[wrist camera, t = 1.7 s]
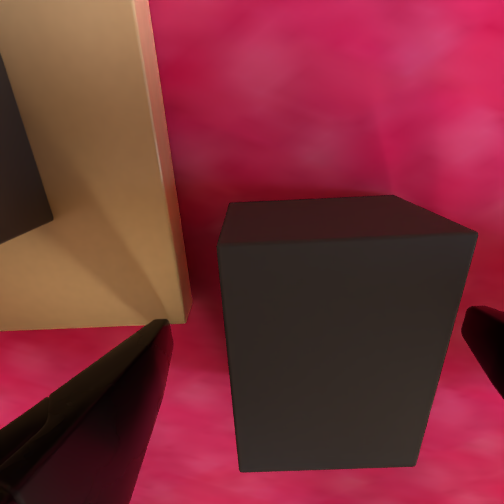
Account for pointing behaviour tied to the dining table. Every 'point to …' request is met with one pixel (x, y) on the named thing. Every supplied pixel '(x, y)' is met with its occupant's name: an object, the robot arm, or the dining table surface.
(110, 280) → the backing board
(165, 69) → the dining table surface
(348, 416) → the dark rectangular block
